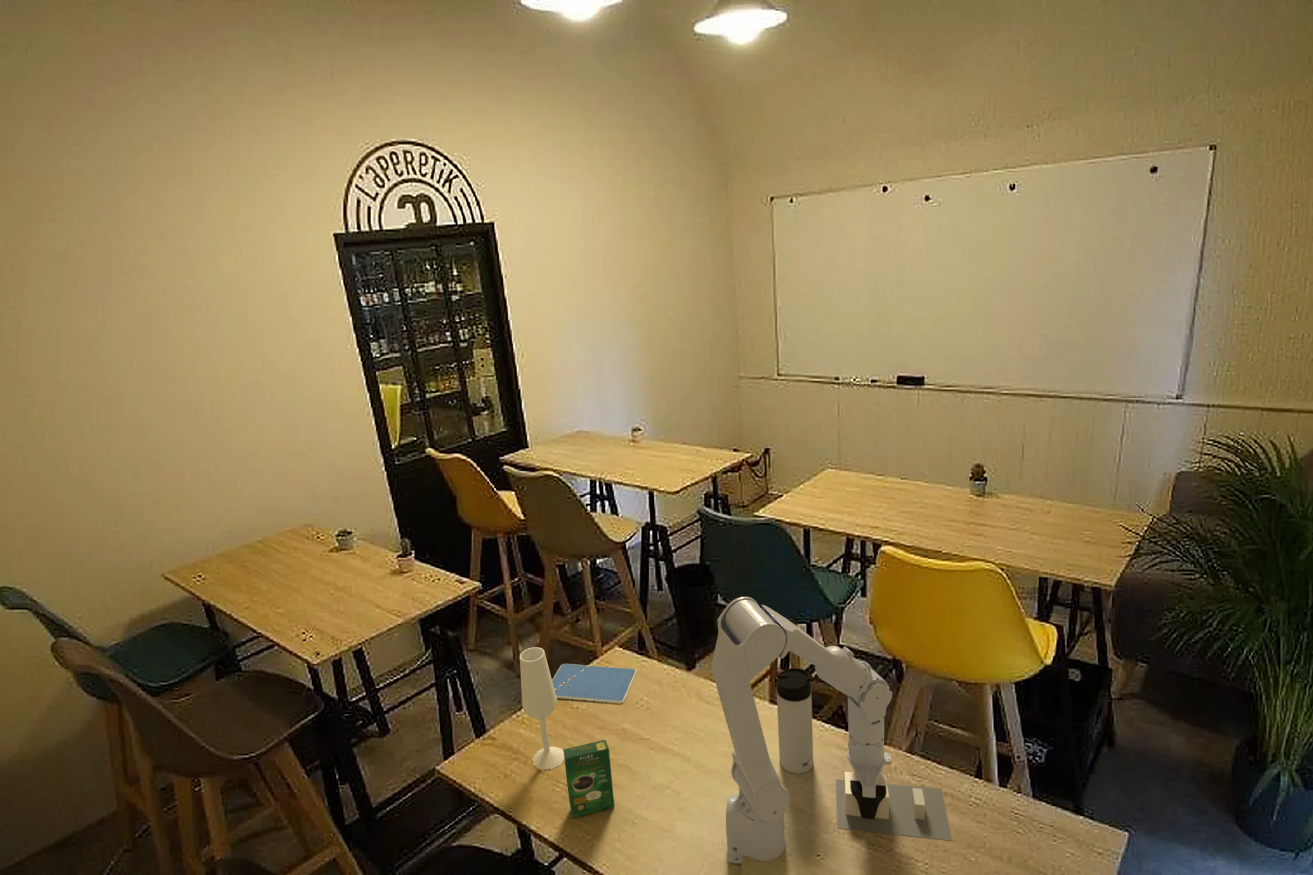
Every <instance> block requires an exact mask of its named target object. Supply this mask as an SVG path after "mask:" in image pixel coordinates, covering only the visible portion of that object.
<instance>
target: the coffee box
mask: <svg viewBox="0 0 1313 875" xmlns="http://www.w3.org/2000/svg"><path fill="white" fill-rule="evenodd" d="M608 745H609V744H608V743H607V740H606V739H602V740H598V741H594V742H593V741H592V742H589V743H585V744H579V745H577V746H571V747H569V748H563V751H564V768H565V776H566V777H565V778H566V786H567V795H568V802H569V807H570V813H571V818H572V819H575V818H580V817H581V816H582V817H584V815H585V816H587V815H591V814H594V813H598V812H602V811H607V810H610V809H613V808H615V799H614V798H615V797H614V790H613V777H612V767H611V757H610V756H611V755H610V748H609V746H608Z"/></svg>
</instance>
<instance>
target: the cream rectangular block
mask: <svg viewBox="0 0 1313 875" xmlns="http://www.w3.org/2000/svg"><path fill="white" fill-rule="evenodd" d="M887 779H888V777H887V775H886V774H884V775H883V774H880V776H879V779H878V781H877V784H876V785H882V786H886V796H885V798H884V799H883V800H882V801H881V802H880V804H879V806H878V809H877V813H876V816H875V818H881V819H889V793H888V785H887V784H888V780H887ZM844 780H845V806H846V815H852V816H861V814H860V810H859V806H858V803H857V800H856V798H855V797H854V796H853V795H852V792H851V789H850V780H854V781H859V779H858V777H857V775H856V773H855V772H853V771H844Z"/></svg>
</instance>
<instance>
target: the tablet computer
mask: <svg viewBox="0 0 1313 875" xmlns="http://www.w3.org/2000/svg"><path fill="white" fill-rule="evenodd" d="M588 666H589V667H588ZM586 667H588V668H586ZM583 669H584V670H583ZM582 670H583V671H582ZM581 671H582V672H581ZM637 674H638V670H637V669H635V668H628V667H613V666H600V665H599V666H598V665H585V664H574V663H562V664H561V665H560V666H559V668H558V670H557V671H556V672H555V674H554V676H553V678H551V679H552V682H553V686H554V689H555V688H557V689H556V690H555V694H556V698H557V699H561V700H562V699H563V700H571V701H572V699H573V701H574V700H575V701H582V700H586V702H593V701H595V702H594V703H603V704H612V703H622V702H623V701H624V700H625V698H626V699H627V697H628V695H629V693H628V691H629V690H631V688H632V686H633V684H632V683H634V681H635V679H636V676H637ZM575 675H576V676H575ZM573 676H575V677H573ZM570 678H571V679H570ZM568 679H570V680H569V681H568ZM572 679H573V680H572ZM567 681H568V682H567ZM563 682H565V683H563ZM561 684H563V686H560V685H561ZM566 684H567V686H565V685H566ZM631 685H632V686H631ZM559 686H560V687H559ZM630 687H631V688H630ZM559 689H560V690H559ZM629 692H630V691H629ZM627 694H628V695H627ZM626 696H627V697H626ZM625 701H626V700H625ZM605 702H607V703H605Z"/></svg>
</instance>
